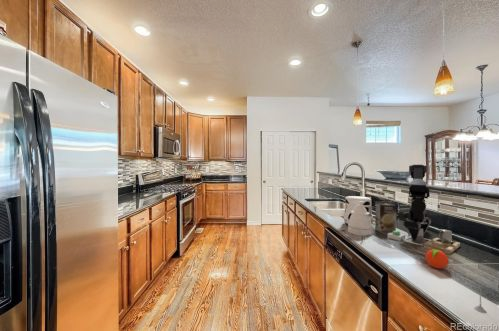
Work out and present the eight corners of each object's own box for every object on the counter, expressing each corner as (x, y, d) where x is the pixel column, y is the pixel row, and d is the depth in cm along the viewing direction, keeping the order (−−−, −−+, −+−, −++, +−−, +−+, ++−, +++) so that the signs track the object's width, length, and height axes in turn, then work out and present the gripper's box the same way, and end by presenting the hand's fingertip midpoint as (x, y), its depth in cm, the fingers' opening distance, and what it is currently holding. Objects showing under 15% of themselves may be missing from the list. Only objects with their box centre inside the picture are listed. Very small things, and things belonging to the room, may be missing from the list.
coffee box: (379, 232, 133) (380, 204, 133) (374, 228, 140) (375, 203, 140) (396, 232, 132) (396, 205, 132) (390, 229, 139) (391, 203, 139)
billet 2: (440, 242, 113) (440, 228, 113) (452, 245, 110) (453, 231, 110) (437, 244, 111) (437, 230, 111) (449, 247, 107) (450, 232, 107)
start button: (394, 235, 122) (394, 230, 122) (400, 236, 119) (400, 231, 119) (391, 236, 120) (391, 231, 120) (398, 237, 117) (398, 232, 117)
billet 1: (413, 239, 119) (414, 226, 119) (424, 242, 115) (424, 228, 115) (410, 241, 116) (410, 227, 116) (421, 244, 112) (421, 229, 112)
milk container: (340, 221, 157) (340, 195, 157) (366, 222, 156) (366, 196, 156) (348, 228, 140) (348, 199, 140) (377, 229, 138) (378, 200, 138)
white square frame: (392, 237, 124) (392, 231, 124) (404, 240, 119) (405, 234, 119) (387, 239, 120) (387, 233, 120) (400, 242, 115) (400, 236, 115)
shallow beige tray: (435, 242, 116) (436, 237, 116) (459, 248, 109) (460, 242, 109) (423, 249, 106) (423, 244, 106) (449, 256, 99) (449, 250, 99)
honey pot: (352, 227, 142) (353, 199, 141) (375, 232, 132) (375, 201, 132) (344, 232, 133) (344, 201, 132) (367, 237, 123) (368, 204, 123)
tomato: (444, 274, 82) (444, 255, 82) (421, 267, 88) (421, 249, 88) (450, 268, 87) (451, 250, 87) (428, 262, 93) (428, 244, 93)
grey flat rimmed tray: (412, 238, 123) (412, 235, 123) (432, 242, 116) (432, 240, 116) (402, 242, 116) (402, 239, 116) (423, 248, 108) (423, 245, 108)
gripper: (407, 204, 128) (406, 231, 128) (392, 207, 117) (392, 237, 117) (431, 207, 118) (431, 237, 119) (418, 211, 108) (417, 244, 108)
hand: (417, 238), depth 116 cm, fingers open, 9 cm apart
